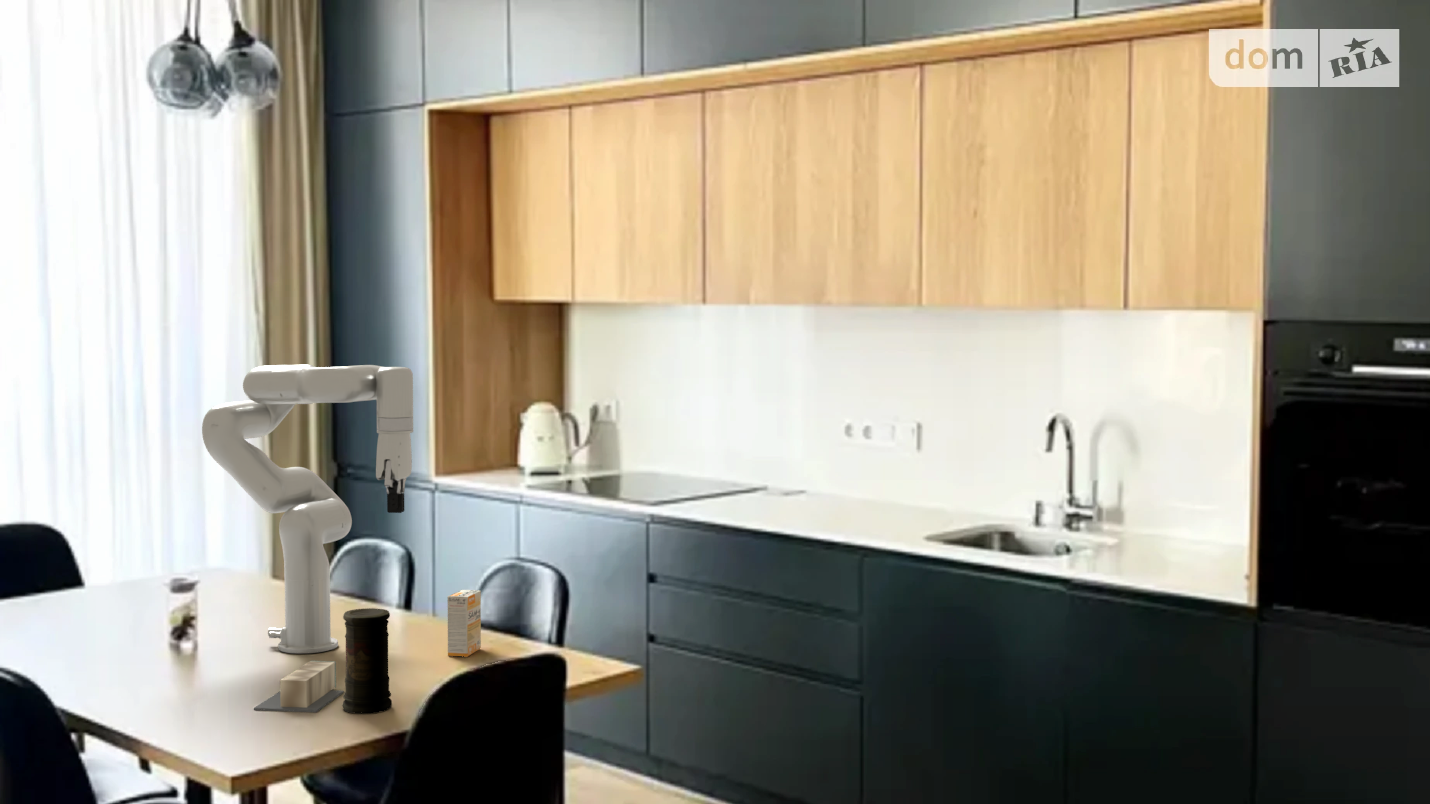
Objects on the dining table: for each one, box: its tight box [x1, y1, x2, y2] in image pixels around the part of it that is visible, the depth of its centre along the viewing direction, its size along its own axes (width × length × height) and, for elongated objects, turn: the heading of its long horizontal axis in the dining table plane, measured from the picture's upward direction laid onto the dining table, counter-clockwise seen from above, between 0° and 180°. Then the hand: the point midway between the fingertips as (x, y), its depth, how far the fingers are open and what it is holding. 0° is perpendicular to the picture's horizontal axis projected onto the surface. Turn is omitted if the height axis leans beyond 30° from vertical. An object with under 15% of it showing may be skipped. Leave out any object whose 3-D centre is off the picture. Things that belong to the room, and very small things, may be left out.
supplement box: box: [447, 589, 482, 658], centre depth 318 cm, size 8×5×13 cm, turn 168°
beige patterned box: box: [279, 660, 337, 708], centre depth 281 cm, size 5×5×15 cm
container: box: [341, 607, 393, 715], centre depth 275 cm, size 9×9×18 cm
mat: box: [253, 689, 345, 713], centre depth 279 cm, size 12×14×1 cm
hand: (395, 512), depth 312 cm, fingers closed
